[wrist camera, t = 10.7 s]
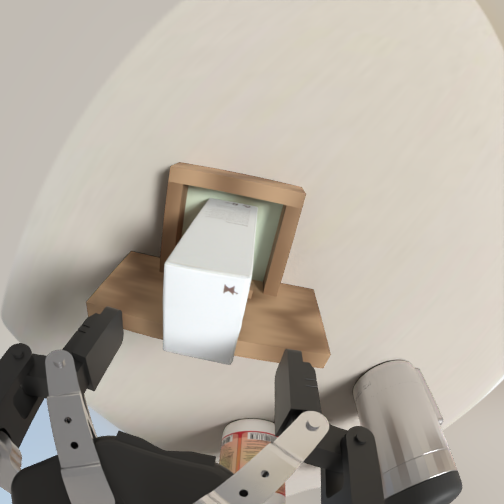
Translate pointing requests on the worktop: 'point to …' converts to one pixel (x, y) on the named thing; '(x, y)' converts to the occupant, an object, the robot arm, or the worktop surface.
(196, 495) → the robot arm
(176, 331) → the skincare box
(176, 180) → the wooden frame stand
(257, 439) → the fruit juice
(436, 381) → the worktop surface
